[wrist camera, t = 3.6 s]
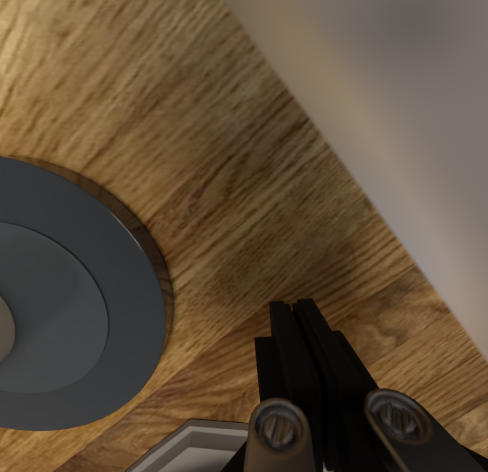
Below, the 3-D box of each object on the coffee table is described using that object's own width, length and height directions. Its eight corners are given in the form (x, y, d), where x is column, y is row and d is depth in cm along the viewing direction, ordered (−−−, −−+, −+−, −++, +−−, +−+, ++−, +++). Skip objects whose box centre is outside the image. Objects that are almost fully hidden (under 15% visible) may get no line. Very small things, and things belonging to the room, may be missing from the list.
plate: (-170, 170, 12) (-236, 169, 10) (146, 142, 12) (132, 137, 10) (-47, 416, 16) (-80, 444, 14) (191, 395, 16) (185, 420, 14)
